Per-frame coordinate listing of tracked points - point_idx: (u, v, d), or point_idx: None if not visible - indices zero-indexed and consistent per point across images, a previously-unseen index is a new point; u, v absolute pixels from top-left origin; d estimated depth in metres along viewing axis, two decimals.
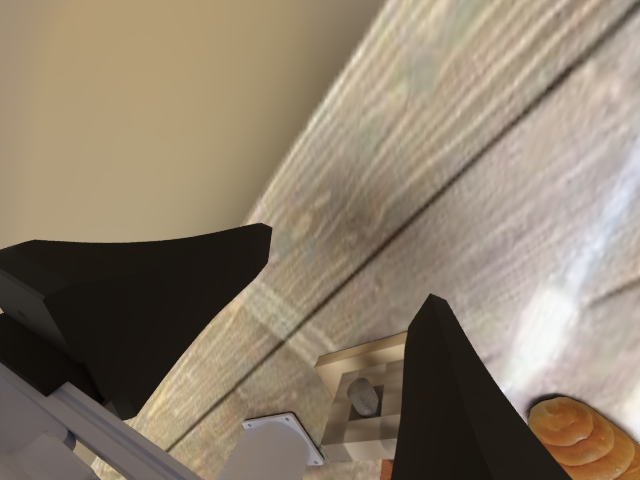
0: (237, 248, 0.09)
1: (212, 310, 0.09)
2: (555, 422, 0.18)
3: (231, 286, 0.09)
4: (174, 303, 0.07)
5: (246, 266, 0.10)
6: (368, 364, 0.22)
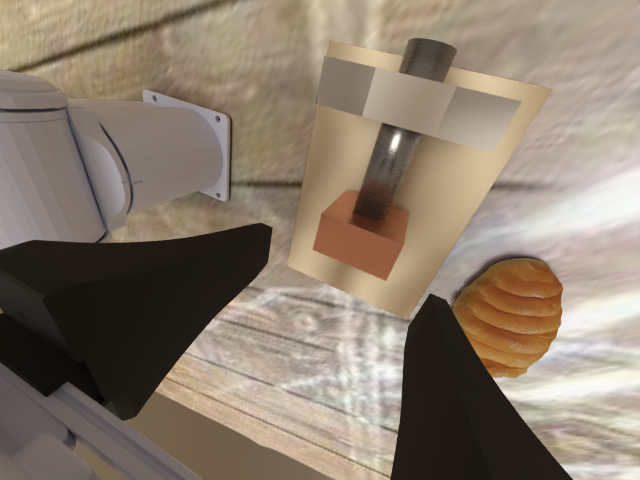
0: (237, 248, 0.09)
1: (212, 310, 0.09)
2: (529, 274, 0.15)
3: (231, 286, 0.09)
4: (174, 303, 0.07)
5: (246, 266, 0.10)
6: None
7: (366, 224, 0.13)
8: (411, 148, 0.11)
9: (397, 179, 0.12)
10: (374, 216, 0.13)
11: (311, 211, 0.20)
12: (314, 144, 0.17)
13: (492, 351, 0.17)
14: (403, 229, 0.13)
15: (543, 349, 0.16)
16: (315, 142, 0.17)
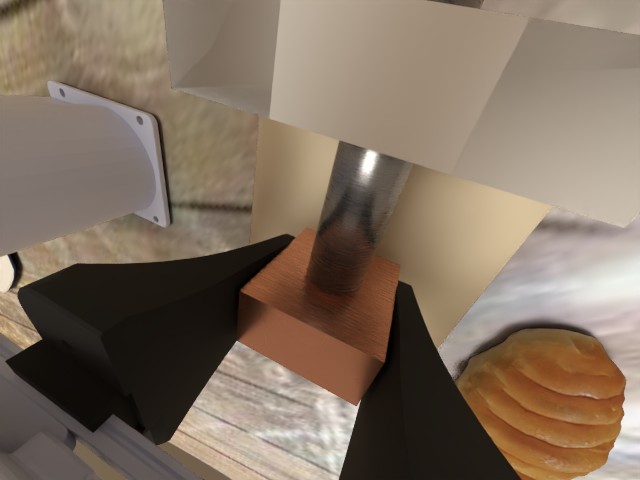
0: (268, 262, 0.08)
1: None
2: (574, 360, 0.10)
3: None
4: (211, 323, 0.07)
5: None
6: None
7: (319, 311, 0.07)
8: (398, 180, 0.06)
9: (373, 233, 0.07)
10: (337, 290, 0.08)
11: None
12: (262, 158, 0.12)
13: (516, 463, 0.12)
14: (387, 313, 0.07)
15: (596, 468, 0.11)
16: (263, 155, 0.12)
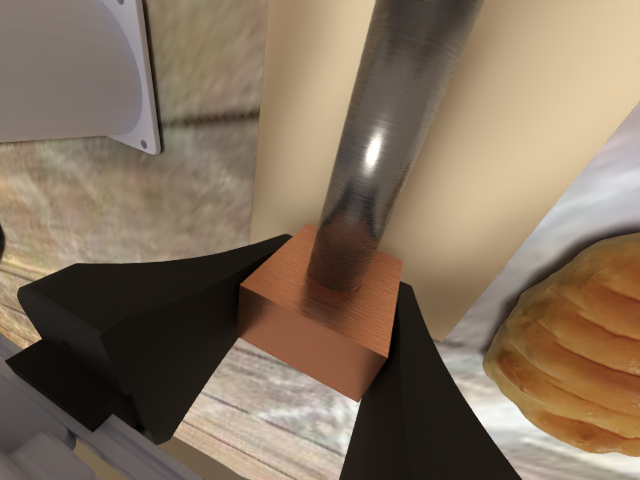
0: None
1: None
2: None
3: None
4: (211, 323, 0.07)
5: None
6: None
7: (321, 305, 0.07)
8: (402, 171, 0.06)
9: (376, 226, 0.06)
10: (339, 285, 0.07)
11: (279, 154, 0.11)
12: (276, 7, 0.09)
13: (596, 411, 0.09)
14: (389, 308, 0.07)
15: None
16: (277, 2, 0.09)
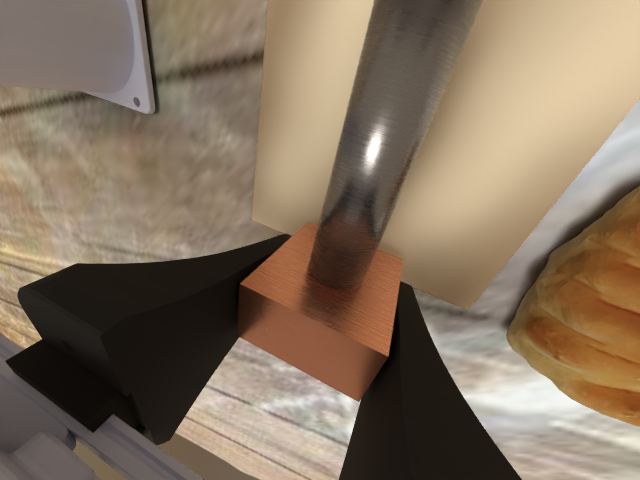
0: None
1: None
2: None
3: None
4: (211, 323, 0.07)
5: None
6: None
7: (321, 304, 0.07)
8: (402, 169, 0.06)
9: (377, 225, 0.06)
10: (339, 284, 0.07)
11: (286, 95, 0.10)
12: None
13: None
14: (390, 307, 0.07)
15: None
16: None
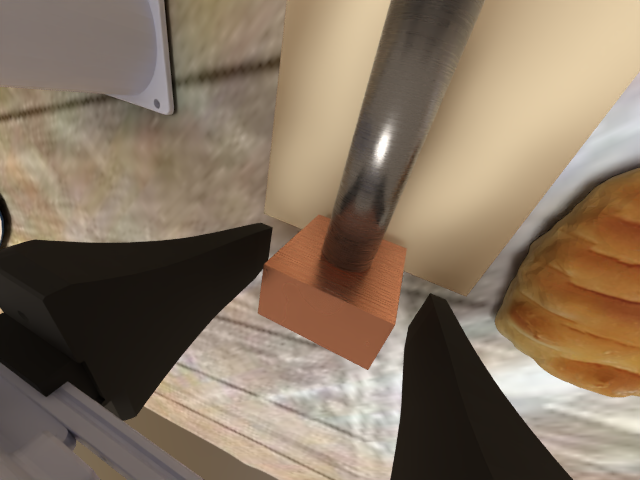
0: (237, 248, 0.09)
1: (212, 310, 0.09)
2: None
3: (231, 286, 0.09)
4: (174, 303, 0.07)
5: (246, 266, 0.10)
6: None
7: (335, 282, 0.08)
8: (407, 162, 0.07)
9: (385, 212, 0.07)
10: (350, 266, 0.08)
11: (300, 98, 0.11)
12: None
13: (613, 349, 0.09)
14: (396, 287, 0.08)
15: None
16: None
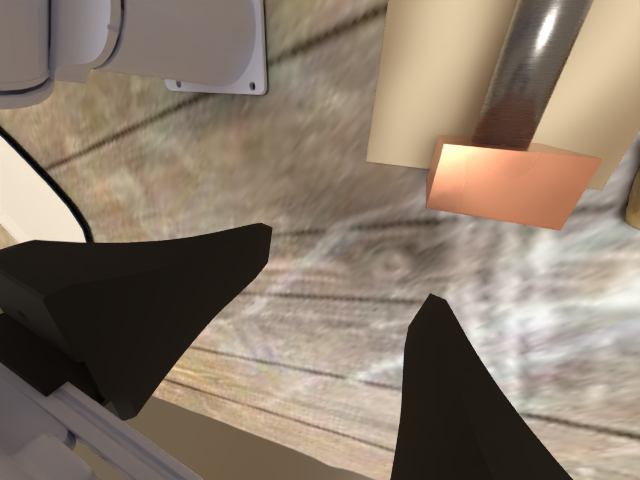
0: (237, 248, 0.09)
1: (212, 310, 0.09)
2: None
3: (231, 286, 0.09)
4: (174, 303, 0.07)
5: (246, 266, 0.10)
6: None
7: (515, 149, 0.08)
8: (588, 7, 0.07)
9: (559, 69, 0.08)
10: (518, 140, 0.09)
11: (408, 31, 0.12)
12: None
13: None
14: (568, 151, 0.09)
15: None
16: None
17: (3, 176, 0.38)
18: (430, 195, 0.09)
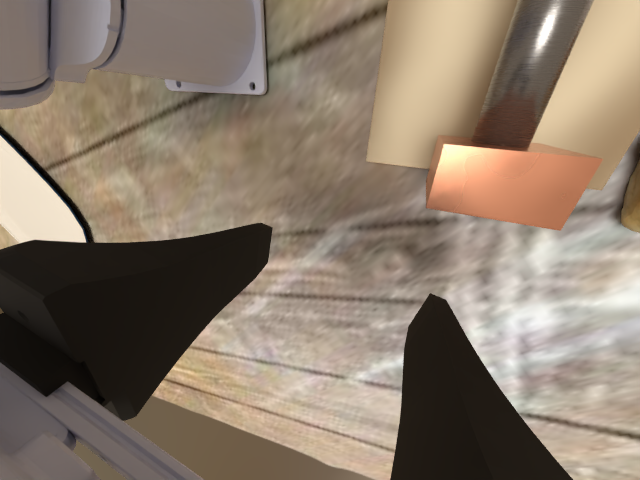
0: (237, 248, 0.09)
1: (212, 310, 0.09)
2: None
3: (231, 286, 0.09)
4: (174, 303, 0.07)
5: (246, 266, 0.10)
6: None
7: (515, 149, 0.08)
8: (588, 7, 0.07)
9: (559, 69, 0.08)
10: (518, 140, 0.09)
11: (408, 31, 0.12)
12: None
13: None
14: (568, 151, 0.09)
15: None
16: None
17: (3, 176, 0.38)
18: (430, 195, 0.09)
